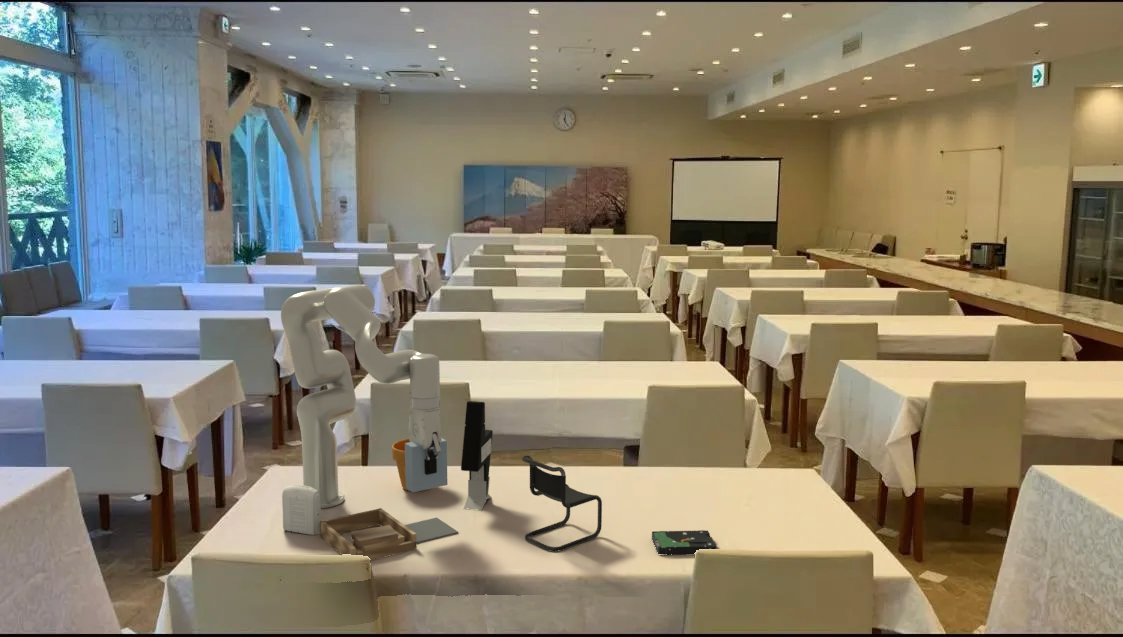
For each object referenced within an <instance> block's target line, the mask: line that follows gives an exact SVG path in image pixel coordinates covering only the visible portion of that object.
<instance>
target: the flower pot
mask: <svg viewBox="0 0 1123 637" xmlns="http://www.w3.org/2000/svg"><path fill="white" fill-rule="evenodd" d="M409 442H410V441H409V438H406V439H405V438H404V439H401V440H398V441H396V442H394V443H393V444H392V446H391V453H392V459H393V461H394V462H395V463H396V467H397V472H398V475H399V480H400V484H401V488H402V487H403V488H402V489H403V490H404V489H405V490H404V491H407V490H408V489H406V476H405V443H409ZM428 490H429V489H426V490H422V491H423V492H424V491H428ZM422 491H421V492H422ZM408 492H411V491H410V490H408Z"/></svg>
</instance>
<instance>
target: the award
mask: <svg viewBox="0 0 1123 637" xmlns="http://www.w3.org/2000/svg"><path fill="white" fill-rule="evenodd" d="M465 408H466V409H465V420H464V425H465V426H464V431H463V432H464V433H463V440H462V441H463V443H462V453H461V462H460V463H461V465H460V471H463V472H468V473H469V474H468V475H469V478H468V479H467V484H468V485H467V497H466V501H465V503H464V505H463V509H464V508H469V509H468V510H470V509H478V510H477V511H482V510H483V509H484V506H485V504H486V503H487V500H488V499H492V496H491V495H490V494H489V491H490V490H489V489H490V488H489V487H490V481H491V480H490V478H491V477H490V475H489V474H490V466H491V456H492V455H491V454H492V444H493V433H494V432H493V431H494V430H491V429H486V403H485V401H473V400H468V401H467V402H466V407H465Z"/></svg>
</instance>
